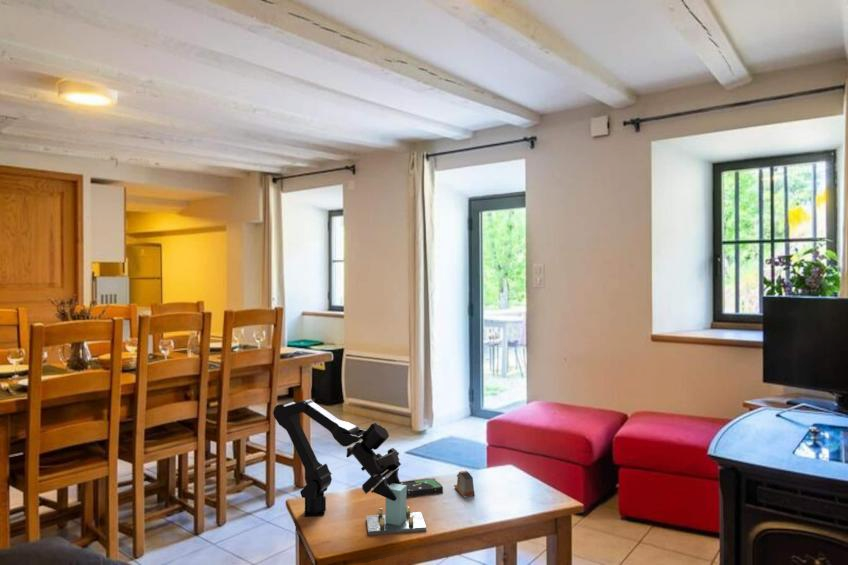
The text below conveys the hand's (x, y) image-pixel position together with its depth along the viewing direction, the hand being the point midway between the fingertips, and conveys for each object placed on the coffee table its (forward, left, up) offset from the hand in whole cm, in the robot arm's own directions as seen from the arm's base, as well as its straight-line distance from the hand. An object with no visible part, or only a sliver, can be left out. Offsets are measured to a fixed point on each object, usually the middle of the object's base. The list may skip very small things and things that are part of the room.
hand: (399, 496), depth 183 cm
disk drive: (+11, +30, -10) cm, 33 cm away
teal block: (-1, +1, -8) cm, 8 cm away
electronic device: (+26, +25, -10) cm, 38 cm away
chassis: (-1, +1, -9) cm, 9 cm away
